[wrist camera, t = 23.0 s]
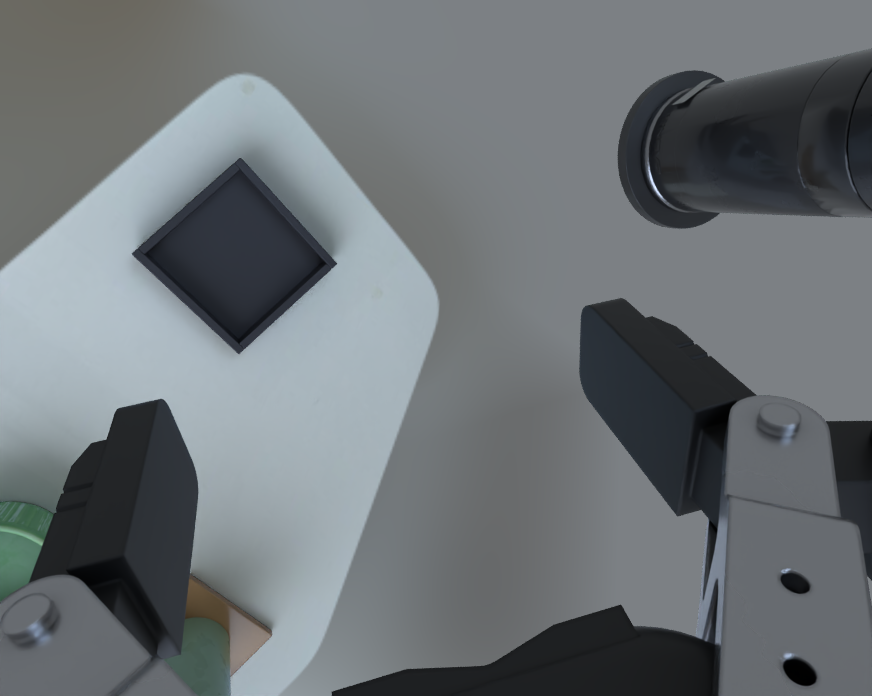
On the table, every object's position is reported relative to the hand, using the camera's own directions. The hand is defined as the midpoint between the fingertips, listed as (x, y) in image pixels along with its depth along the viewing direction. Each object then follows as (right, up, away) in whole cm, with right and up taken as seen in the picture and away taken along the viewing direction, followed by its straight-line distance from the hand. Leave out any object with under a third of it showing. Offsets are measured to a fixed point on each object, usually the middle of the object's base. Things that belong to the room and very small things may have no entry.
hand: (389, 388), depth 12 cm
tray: (-12, +7, +28) cm, 31 cm away
